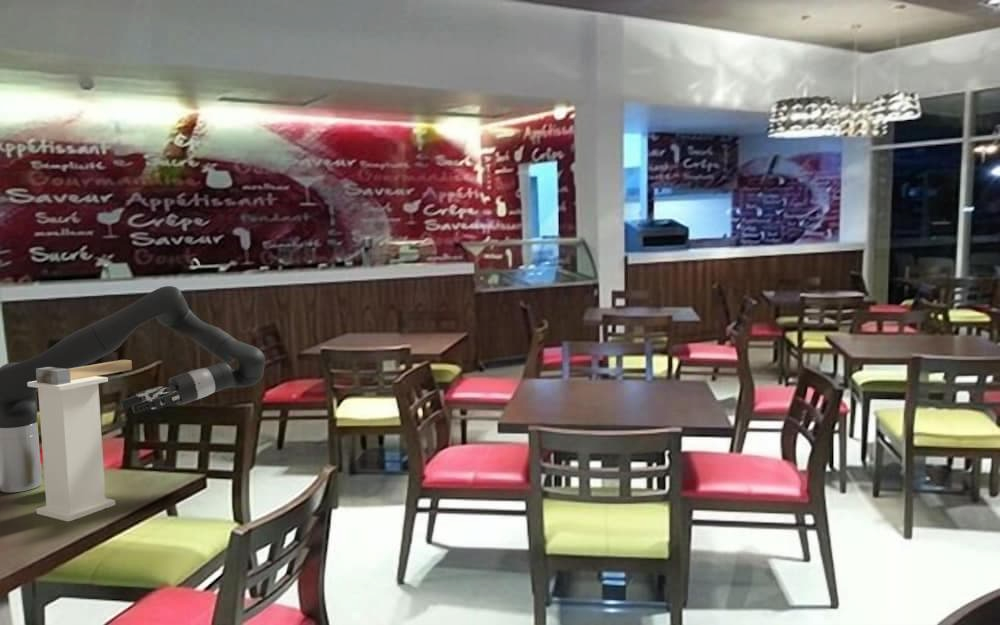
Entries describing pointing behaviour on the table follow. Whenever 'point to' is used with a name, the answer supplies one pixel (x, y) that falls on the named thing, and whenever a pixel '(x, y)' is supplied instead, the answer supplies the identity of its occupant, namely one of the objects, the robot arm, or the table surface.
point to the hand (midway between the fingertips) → (127, 407)
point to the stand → (72, 448)
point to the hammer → (80, 372)
